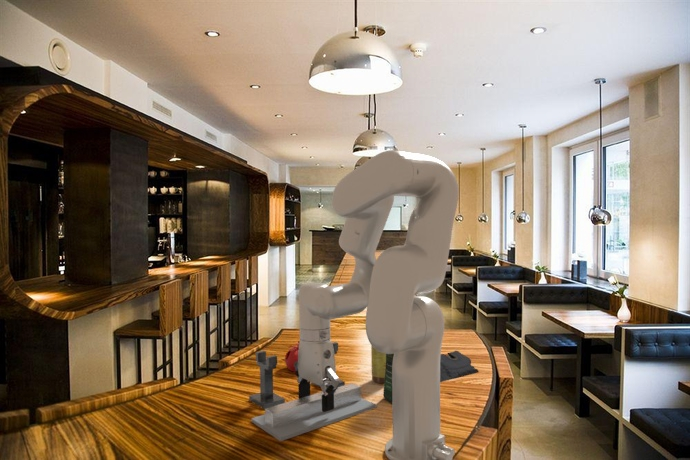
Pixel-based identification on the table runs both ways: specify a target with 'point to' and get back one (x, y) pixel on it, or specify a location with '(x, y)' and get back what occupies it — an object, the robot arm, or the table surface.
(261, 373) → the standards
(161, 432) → the table surface
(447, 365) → the dark grey notched piece
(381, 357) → the sauce bottle
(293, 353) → the pomegranate
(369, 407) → the mat
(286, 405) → the hang bar
